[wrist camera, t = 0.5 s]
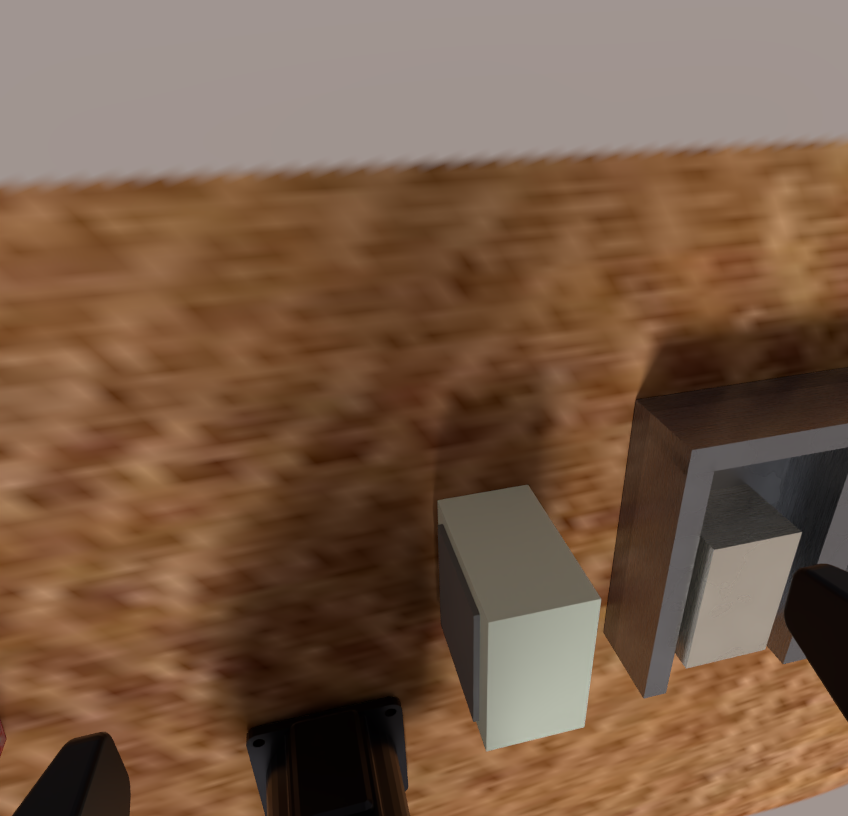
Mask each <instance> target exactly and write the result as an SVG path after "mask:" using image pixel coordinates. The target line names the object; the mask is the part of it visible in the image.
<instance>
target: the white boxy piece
mask: <svg viewBox="0 0 848 816" xmlns="http://www.w3.org/2000/svg"><path fill="white" fill-rule="evenodd" d="M5 742H6V736H5V733H4V730H3V727H2V724H1V720H0V756H1V753H2V750H3V747H4V744H5Z"/></svg>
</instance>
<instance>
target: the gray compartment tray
mask: <svg viewBox="0 0 848 816" xmlns="http://www.w3.org/2000/svg"><path fill="white" fill-rule="evenodd" d="M822 563H823V564H830V565H833V566H835V567H838V568H840V569H843V570H845V571H847V572H848V367H846V368H840V369H833V370H827V371H820V372H814V373H807V374H801V375H794V376H788V377H781V378H775V379H768V380H762V381H755V382H749V383H742V384H736V385H729V386H723V387H716V388H710V389H703V390H696V391H690V392H683V393H677V394H670V395H664V396H657V397H651V398H644V399H638V400H636V404H635V411H634V418H633V425H632V432H631V440H630V447H629V454H628V461H627V468H626V475H625V483H624V490H623V497H622V504H621V511H620V519H619V526H618V533H617V540H616V547H615V555H614V562H613V569H612V576H611V583H610V590H609V598H608V605H607V612H606V619H605V626H604V634H605V636H606V638H607V639H608V641H609V643H610V644H611V646H612V648H613V649H614V651H615V652H616V654H617V656H618V657H619V659H620V661H621V662H622V664H623V666H624V667H625V669H626V670H627V672H628V674H629V675H630V677H631V679H632V680H633V682H634V684H635V685H636V687H637V689H638V690H639V692H640V693H641V695H642V697H643V698H648V697H652V696H656V695H660V694H664V693H666V690H667V685H668V681H669V676H670V672H671V667H672V663H673V658H674V653H676V655H677V656H678V658H679V659H680V661H681V662H682V663H683V665H684V666H685V668H690V667H694V666H698V665H703V664H707V663H711V662H715V661H719V660H723V659H728V658H732V657H736V656H740V655H744V654H748V653H753V652H757V651H761V650H765V648H766V645H767V646H768V648H769V649H770V650H771V651H772V652H773V653H774V654H775V656H776V657H777V658H778V659H779V660H780V661H781V662H782V664H786V663H790V662H794V661H798V660H802V659H806V657H805V655H804V653H803V652H802V650H801V649H800V647H799V646H798V644H797V643H796V641H795V639H794V638H793V636H792V635H791V633H790V632H789V630H788V628H787V626H786V623H785V620H784V607H785V604H786V600H787V596H788V592H789V589H790V585H791V581H792V578H793V575H794V573H795V572H796V571H797V570H798V569H800V568H803V567H807V566H812V565H816V564H822Z"/></svg>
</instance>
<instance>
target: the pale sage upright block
mask: <svg viewBox="0 0 848 816" xmlns="http://www.w3.org/2000/svg"><path fill="white" fill-rule="evenodd" d="M437 501H438V552H439V582H440V613H441V626H442V629H443V632H444V635H445V638H446V641H447V644H448V647H449V650H450V653H451V656H452V659H453V662H454V665H455V668H456V671H457V674H458V677H459V680H460V683H461V686H462V689H463V692H464V695H465V698H466V701H467V704H468V707H469V710H470V713H471V716H472V719H473V722H475V721H476V722H477V725H478V728H479V731H480V734H481V737H482V740H483V743H484V746H485V749H486V751H490V750H494V749H498V748H502V747H506V746H510V745H514V744H518V743H522V742H526V741H530V740H534V739H538V738H542V737H546V736H550V735H554V734H558V733H562V732H566V731H570V730H574V729H578V728H582V727H584V725H585V718H586V710H587V703H588V695H589V687H590V680H591V672H592V665H593V657H594V650H595V642H596V635H597V627H598V620H599V612H600V604H601V598H600V596H599V595H598V593H597V591H596V590H595V588H594V587H593V585H592V584H591V582H590V580H589V579H588V577H587V576H586V574H585V573H584V571H583V570H582V568H581V566H580V565H579V563H578V562H577V560H576V559H575V557H574V555H573V554H572V552H571V551H570V549H569V548H568V546H567V545H566V543H565V541H564V540H563V538H562V537H561V535H560V534H559V532H558V531H557V529H556V527H555V526H554V524H553V523H552V521H551V520H550V518H549V516H548V515H547V513H546V512H545V510H544V509H543V507H542V506H541V504H540V502H539V501H538V499H537V498H536V496H535V495H534V493H533V492H532V490H531V488H530V487H529V485H522V486H517V487H511V488H505V489H499V490H494V491H488V492H482V493H476V494H471V495H465V496H459V497H453V498H447V499H442V500H437Z"/></svg>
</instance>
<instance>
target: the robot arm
mask: <svg viewBox="0 0 848 816" xmlns="http://www.w3.org/2000/svg"><path fill="white" fill-rule="evenodd" d="M784 620H785V623H786V626H787V628H788V630H789V632H790V633H791V635H792V636H793V638H794V639H795V641H796V643H797V644H798V646H799V647H800V649H801V650H802V652H803V653H804V655H805V657H806V658H807V660H808V661H809V663H810V664H811V666H812V667H813V669H814V671H815V672H816V674H817V675H818V677H819V678H820V680H821V681H822V683H823V685H824V686H825V688H826V689H827V691H828V692H829V694H830V695H831V697H832V698H833V700H834V702H835V703H836V705H837V706H838V708H839V709H840V711H841V712H842V714H843V716H844V717H845V718H846V720H847V721H848V572H847V571H845V570H843V569H840V568H838V567H835V566H833V565H830V564H823V563H822V564H816V565H812V566H807V567H803V568H800V569H798V570H797V571H796V572H795V573H794V575H793V578H792V581H791V585H790V589H789V592H788V596H787V600H786V604H785V607H784ZM246 746H247V750H248V753H249V757H250V761H251V764H252V768H253V772H254V776H255V779H256V783H257V787H258V790H259V794H260V798H261V801H262V805H263V809H264V812H265V816H410V813H409V809H408V804H407V799H406V794H405V791H406V790H407V789H408V777H407V764H406V752H405V740H404V727H403V715H402V707H401V703H400V700H399V699H398V698H397V697H386V698H381V699H377V700H373V701H368V702H364V703H359V704H355V705H351V706H346V707H342V708H337V709H333V710H329V711H324V712H320V713H315V714H311V715H307V716H302V717H298V718H293V719H289V720H285V721H280V722H276V723H271V724H267V725H263V726H258V727H255V728H252V729H251V730H249V731H248V733H247V741H246ZM129 815H130V781H129V777H128V773H127V771H126V769H125V766H124V764H123V762H122V759H121V757H120V755H119V752H118V750H117V748H116V746H115V743H114V741H113V739H112V737H111V736H110V735H109V734H108V733H106V732H99V733H94V734H90V735H86V736H81V737H77V738H74V739H71V740H70V741H68V742H67V743H66V744H65V745H64V746H63V747H62V749H61V750H60V751H59V753H58V754H57V755H56V757H55V758H54V759H53V761H52V762H51V763H50V765H49V766H48V768H47V769H46V770H45V772H44V773H43V774H42V776H41V777H40V778H39V780H38V781H37V782H36V784H35V785H34V787H33V788H32V789H31V791H30V792H29V793H28V795H27V796H26V797H25V799H24V800H23V802H22V803H21V804H20V806H19V807H18V808H17V810H16V811H15V812H14V814H13V815H12V816H129Z"/></svg>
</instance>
